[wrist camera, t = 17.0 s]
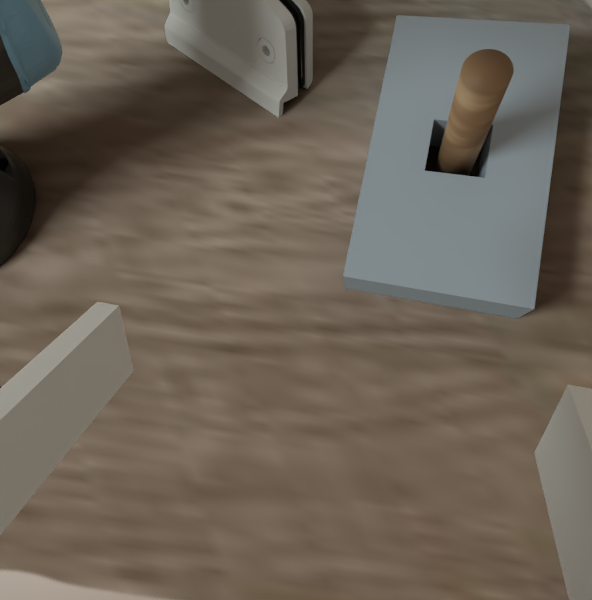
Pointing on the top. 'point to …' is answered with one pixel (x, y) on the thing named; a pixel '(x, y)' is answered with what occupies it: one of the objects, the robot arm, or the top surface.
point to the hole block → (459, 188)
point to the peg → (473, 109)
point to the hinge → (248, 44)
